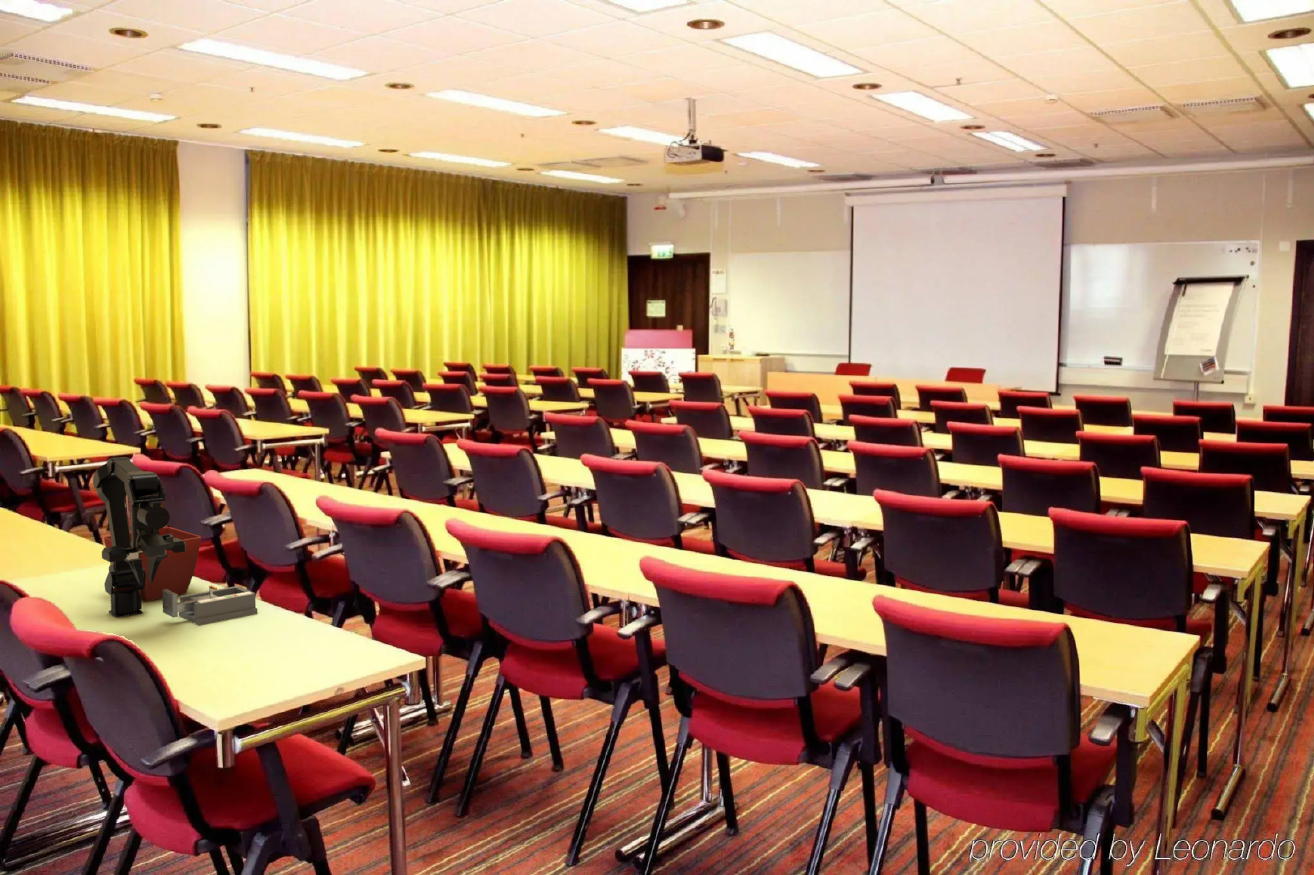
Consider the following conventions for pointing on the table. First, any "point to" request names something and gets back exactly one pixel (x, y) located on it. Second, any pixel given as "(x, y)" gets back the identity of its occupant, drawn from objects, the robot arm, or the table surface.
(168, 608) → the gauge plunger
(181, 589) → the plant pot
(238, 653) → the table surface
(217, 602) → the gauge frame
